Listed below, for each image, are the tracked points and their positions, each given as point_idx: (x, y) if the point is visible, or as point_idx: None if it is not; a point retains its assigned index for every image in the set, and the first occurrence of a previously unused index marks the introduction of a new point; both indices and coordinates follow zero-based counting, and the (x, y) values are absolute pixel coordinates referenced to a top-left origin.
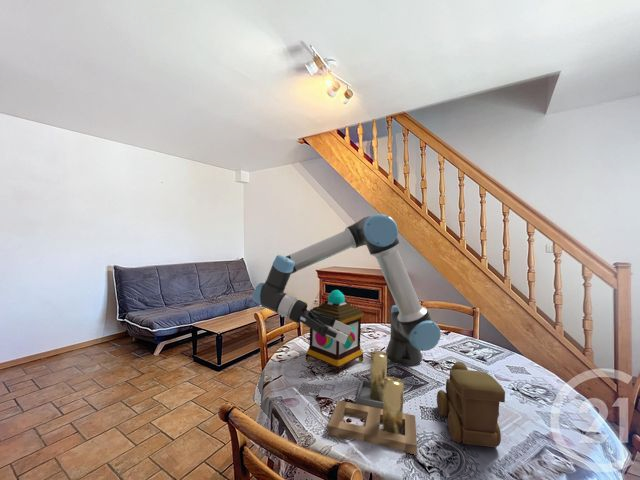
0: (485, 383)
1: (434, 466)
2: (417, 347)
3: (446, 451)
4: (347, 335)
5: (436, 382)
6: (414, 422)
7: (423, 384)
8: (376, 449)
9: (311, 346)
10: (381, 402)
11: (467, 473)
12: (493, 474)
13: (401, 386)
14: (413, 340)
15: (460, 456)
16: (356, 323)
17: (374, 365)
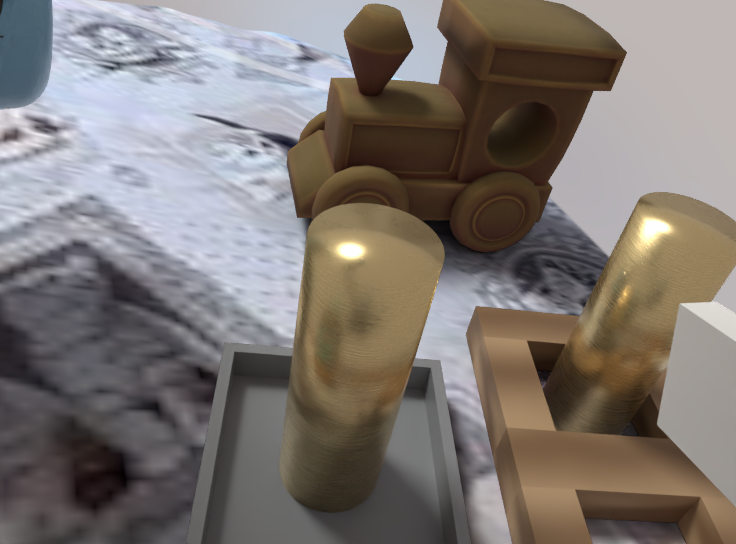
0: (553, 10)
1: None
2: (43, 91)
3: (552, 277)
4: (691, 307)
5: (75, 215)
6: (525, 313)
7: (102, 260)
8: None
9: None
10: (446, 425)
11: (605, 256)
12: (568, 216)
13: (702, 205)
14: (45, 51)
15: (550, 254)
16: None
17: (421, 328)
